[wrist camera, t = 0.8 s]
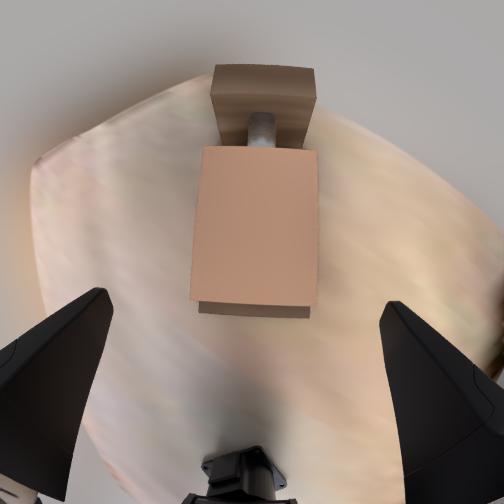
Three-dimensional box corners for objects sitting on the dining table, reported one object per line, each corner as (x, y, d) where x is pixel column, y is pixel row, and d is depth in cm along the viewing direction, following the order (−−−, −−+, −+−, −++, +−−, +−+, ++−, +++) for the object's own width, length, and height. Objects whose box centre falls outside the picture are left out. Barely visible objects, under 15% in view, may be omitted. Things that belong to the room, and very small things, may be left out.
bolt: (273, 198, 19) (275, 188, 17) (244, 196, 19) (243, 186, 17) (275, 123, 20) (276, 109, 18) (249, 122, 20) (249, 108, 18)
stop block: (307, 317, 23) (336, 333, 14) (200, 311, 23) (168, 324, 14) (308, 131, 25) (327, 70, 16) (217, 127, 25) (202, 65, 16)
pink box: (292, 299, 22) (316, 306, 13) (216, 295, 22) (189, 299, 13) (295, 201, 23) (317, 151, 14) (223, 198, 23) (204, 146, 14)
